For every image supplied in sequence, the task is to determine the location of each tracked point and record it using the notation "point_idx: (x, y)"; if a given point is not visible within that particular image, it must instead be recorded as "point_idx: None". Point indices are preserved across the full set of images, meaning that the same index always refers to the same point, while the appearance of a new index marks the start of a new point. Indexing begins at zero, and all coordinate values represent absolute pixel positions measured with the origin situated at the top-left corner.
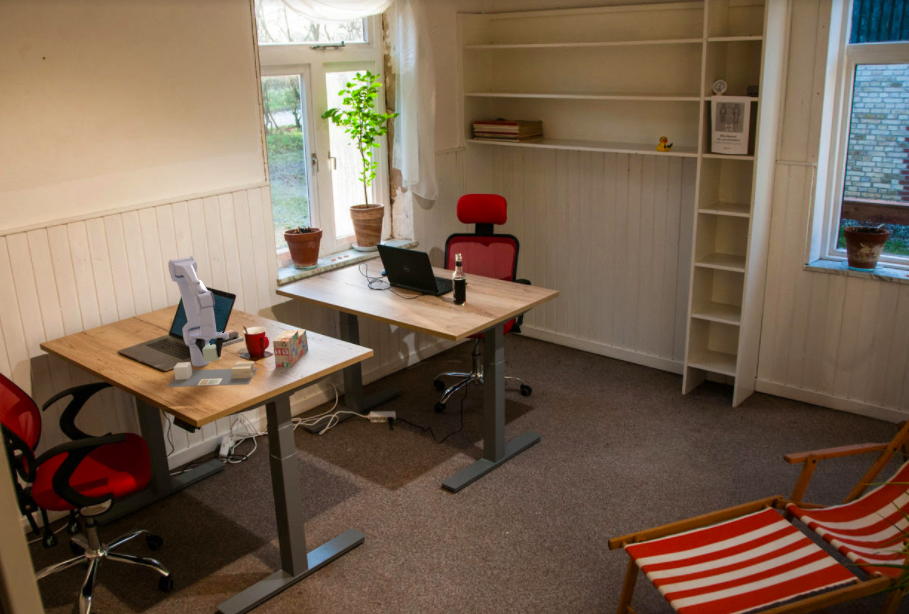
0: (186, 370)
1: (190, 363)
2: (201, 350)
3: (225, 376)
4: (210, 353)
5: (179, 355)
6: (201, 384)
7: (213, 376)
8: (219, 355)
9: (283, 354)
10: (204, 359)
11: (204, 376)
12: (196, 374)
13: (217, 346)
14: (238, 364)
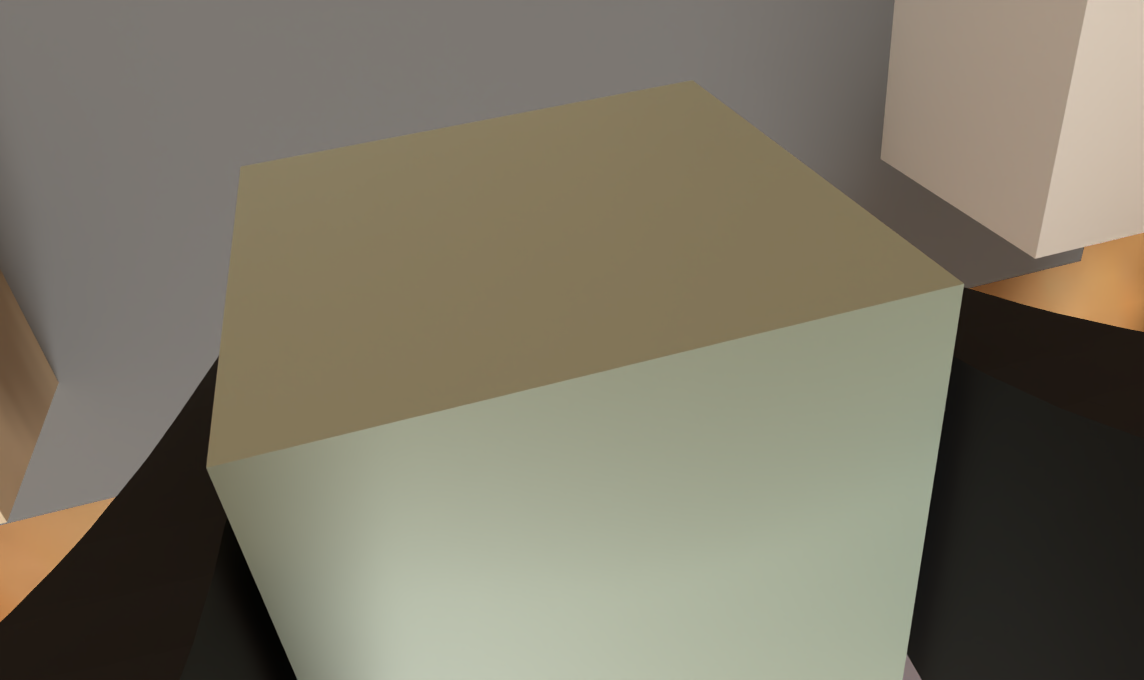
0: None
1: (1024, 229)
2: (965, 317)
3: (160, 113)
4: (496, 255)
5: None
6: None
7: (441, 90)
8: (203, 387)
9: None
10: (697, 108)
11: (628, 72)
12: (807, 147)
13: (81, 664)
14: None
